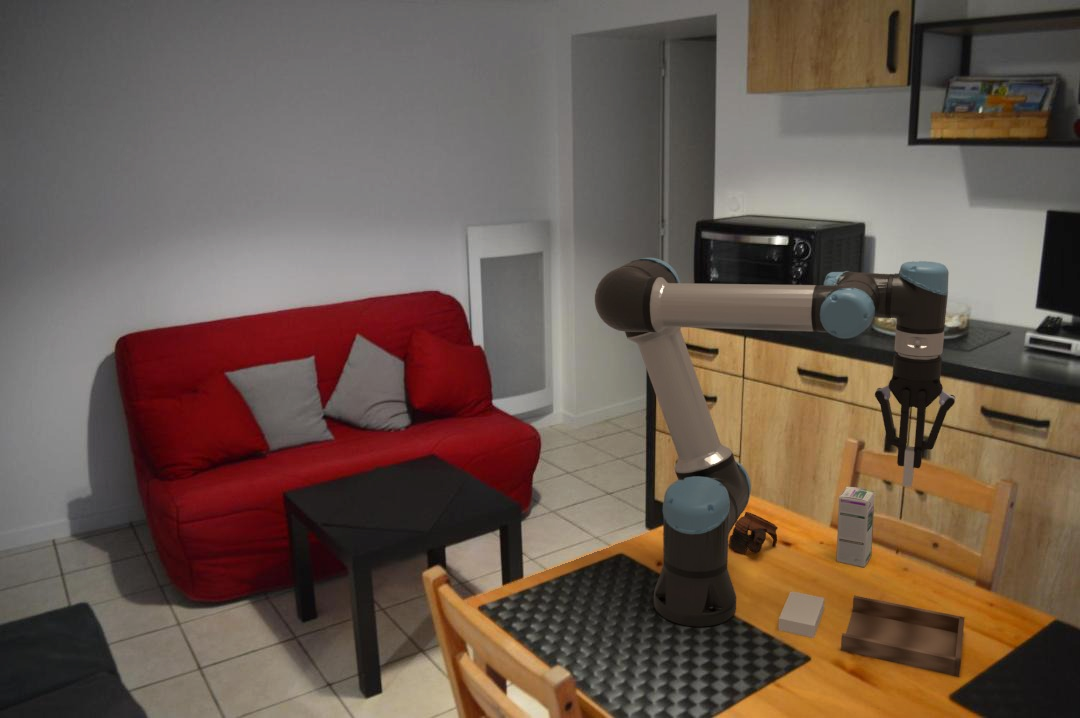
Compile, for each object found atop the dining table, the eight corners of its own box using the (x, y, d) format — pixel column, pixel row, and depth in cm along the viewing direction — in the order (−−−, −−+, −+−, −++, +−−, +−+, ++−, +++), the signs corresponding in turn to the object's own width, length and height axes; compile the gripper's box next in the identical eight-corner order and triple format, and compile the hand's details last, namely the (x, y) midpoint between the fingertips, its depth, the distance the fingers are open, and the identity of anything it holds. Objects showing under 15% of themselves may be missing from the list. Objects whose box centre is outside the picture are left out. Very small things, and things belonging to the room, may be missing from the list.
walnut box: (840, 656, 150) (841, 635, 149) (852, 615, 162) (854, 595, 161) (958, 683, 142) (960, 661, 141) (962, 637, 154) (964, 617, 153)
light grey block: (778, 633, 156) (778, 618, 155) (790, 605, 164) (790, 591, 164) (813, 641, 153) (814, 625, 152) (823, 612, 162) (824, 597, 161)
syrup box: (865, 568, 178) (869, 500, 174) (834, 561, 181) (838, 495, 177) (871, 556, 183) (876, 490, 179) (842, 549, 186) (846, 485, 182)
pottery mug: (720, 540, 193) (736, 505, 193) (760, 558, 193) (776, 524, 193) (734, 553, 181) (751, 515, 181) (776, 572, 181) (793, 535, 181)
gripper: (874, 356, 151) (865, 485, 157) (959, 363, 145) (946, 497, 151) (879, 345, 157) (871, 470, 163) (961, 351, 152) (949, 481, 158)
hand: (907, 483), depth 157 cm, fingers closed
